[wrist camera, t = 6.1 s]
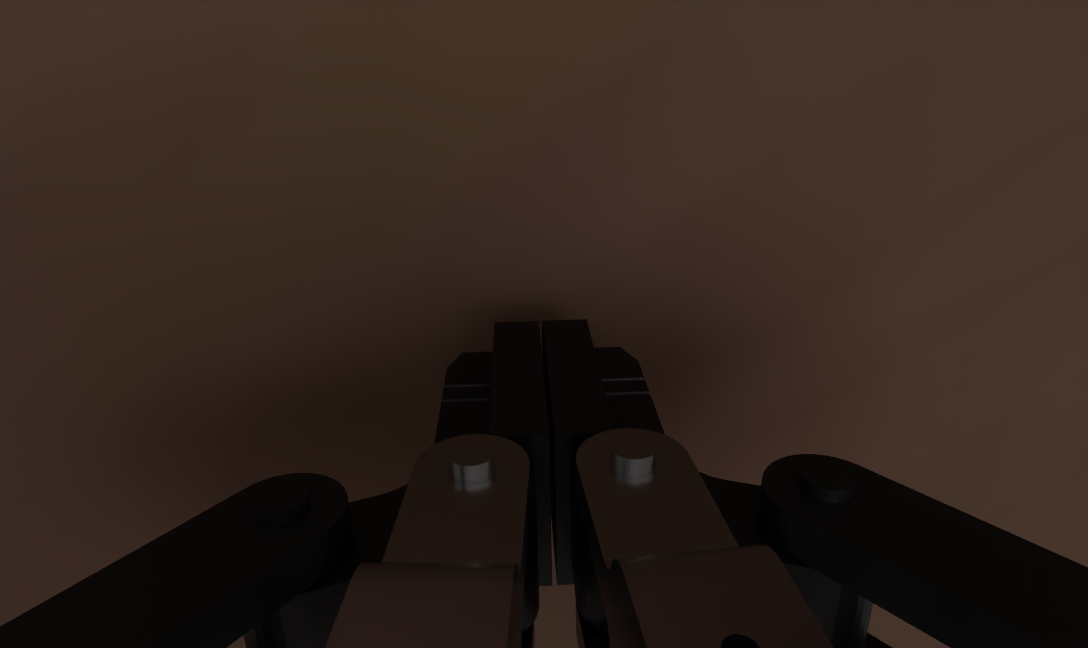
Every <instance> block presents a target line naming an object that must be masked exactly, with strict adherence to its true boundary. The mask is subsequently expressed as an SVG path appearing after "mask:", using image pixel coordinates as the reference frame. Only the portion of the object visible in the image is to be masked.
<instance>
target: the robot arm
mask: <svg viewBox="0 0 1088 648" xmlns="http://www.w3.org/2000/svg"><path fill="white" fill-rule="evenodd" d="M542 356H543V362H542ZM551 519H552V530H553V542H554V554H555V566H556V578H557V585H566V584H574V587H575V596H576V636H577V641H578V646H579V648H892V647H890V646H889V645H887V644H885V643H884V642H882V641H880V640H879V639H877V638H876V637H874V636H872V635H871V634H869V633H867V630H868V626H869V621H870V616H871V611H872V606H873V603H874V604H876V605H878V606H879V607H881V608H883V609H884V610H886V611H888V612H890V613H891V614H893V615H895V616H897V617H898V618H900V619H902V620H904V621H905V622H907V623H909V624H911V625H912V626H914V627H916V628H917V629H919V630H921V631H923V632H924V633H926V634H928V635H930V636H931V637H933V638H935V639H937V640H938V641H940V642H942V643H944V644H945V645H947V646H949V647H951V648H1088V567H1085V566H1083V565H1081V564H1079V563H1077V562H1074V561H1072V560H1070V559H1068V558H1065V557H1063V556H1061V555H1059V554H1056V553H1054V552H1052V551H1050V550H1047V549H1045V548H1043V547H1041V546H1038V545H1036V544H1034V543H1032V542H1029V541H1027V540H1025V539H1023V538H1020V537H1018V536H1016V535H1014V534H1011V533H1009V532H1007V531H1005V530H1003V529H1000V528H998V527H996V526H994V525H991V524H989V523H987V522H985V521H982V520H980V519H978V518H976V517H973V516H971V515H969V514H967V513H964V512H962V511H960V510H958V509H955V508H953V507H951V506H949V505H946V504H944V503H942V502H940V501H937V500H935V499H933V498H931V497H929V496H926V495H924V494H922V493H920V492H917V491H915V490H913V489H911V488H908V487H906V486H904V485H902V484H899V483H897V482H895V481H893V480H890V479H888V478H886V477H884V476H881V475H879V474H877V473H875V472H872V471H870V470H868V469H866V468H863V467H861V466H859V465H857V464H854V463H852V462H849V461H846V460H843V459H839V458H836V457H831V456H826V455H817V454H799V455H792V456H787V457H784V458H781V459H778V460H776V461H774V462H773V463H771V464H770V465H769V466H768V467H767V468H766V470H765V471H764V473H763V477H762V484H761V486H759V485H753V484H747V483H740V482H734V481H728V480H723V479H718V478H715V477H711V476H708V475H706V474H703V473H700V472H698V470H697V468H696V466H695V464H694V462H693V461H692V459H691V457H690V455H689V453H688V452H687V450H686V449H685V448H684V447H683V446H682V445H681V444H680V443H679V442H677V441H676V440H674V439H672V438H670V437H668V436H666V435H665V434H664V431H663V428H662V425H661V423H660V420H659V417H658V414H657V412H656V409H655V406H654V403H653V401H652V398H651V395H650V394H649V390H648V387H647V384H646V382H645V380H644V376H643V373H642V371H641V368H640V365H639V362H638V360H636V359H635V358H634V357H632V356H631V355H630V354H628V353H627V352H626V351H624V350H623V349H622V348H621V347H606V348H594V347H593V343H592V339H591V335H590V331H589V327H588V323H587V320H586V319H579V320H550V321H542V352H541V342H540V331H539V321H524V322H495V323H494V344H493V352H467V353H462V354H461V355H460V356H459V357H458V358H457V359H456V360H455V361H454V362H453V363H452V364H451V365H450V366H449V367H447V372H446V378H445V384H444V390H443V396H442V402H441V408H440V413H439V419H438V425H437V431H436V437H435V443H434V445H433V446H431V447H429V448H428V449H426V450H425V451H424V452H423V453H422V454H421V455H420V456H419V458H418V459H417V461H416V463H415V465H414V468H413V471H412V474H411V477H410V480H409V483H408V484H406V485H404V486H402V487H400V488H398V489H396V490H393V491H391V492H388V493H385V494H381V495H378V496H374V497H370V498H366V499H362V500H358V501H354V502H350V503H348V497H347V492H346V491H345V489H344V487H343V486H342V485H341V484H340V483H339V482H337V481H336V480H334V479H332V478H330V477H327V476H324V475H319V474H312V473H294V474H286V475H281V476H276V477H272V478H269V479H266V480H263V481H260V482H258V483H255V484H253V485H251V486H249V487H247V488H245V489H244V490H242V491H240V492H238V493H236V494H235V495H233V496H231V497H229V498H228V499H226V500H224V501H222V502H220V503H219V504H217V505H215V506H213V507H212V508H210V509H208V510H206V511H204V512H203V513H201V514H199V515H197V516H196V517H194V518H192V519H190V520H189V521H187V522H185V523H183V524H181V525H180V526H178V527H176V528H174V529H173V530H171V531H169V532H167V533H165V534H164V535H162V536H160V537H158V538H157V539H155V540H153V541H151V542H149V543H148V544H146V545H144V546H142V547H141V548H139V549H137V550H135V551H133V552H132V553H130V554H128V555H126V556H125V557H123V558H121V559H119V560H117V561H116V562H114V563H112V564H110V565H109V566H107V567H105V568H103V569H102V570H100V571H98V572H96V573H94V574H93V575H91V576H89V577H87V578H86V579H84V580H82V581H80V582H78V583H77V584H75V585H73V586H71V587H70V588H68V589H66V590H64V591H62V592H61V593H59V594H57V595H55V596H54V597H52V598H50V599H48V600H46V601H45V602H43V603H41V604H39V605H38V606H36V607H34V608H32V609H30V610H29V611H27V612H25V613H23V614H22V615H20V616H18V617H16V618H14V619H13V620H11V621H9V622H7V623H6V624H4V625H2V626H0V648H226V647H228V646H229V645H230V644H232V643H233V642H235V641H236V640H237V639H239V638H240V637H241V636H243V635H244V639H245V643H246V647H247V648H534V646H535V626H534V620H535V618H536V617H537V614H538V610H539V586H550V585H552V555H551Z"/></svg>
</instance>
